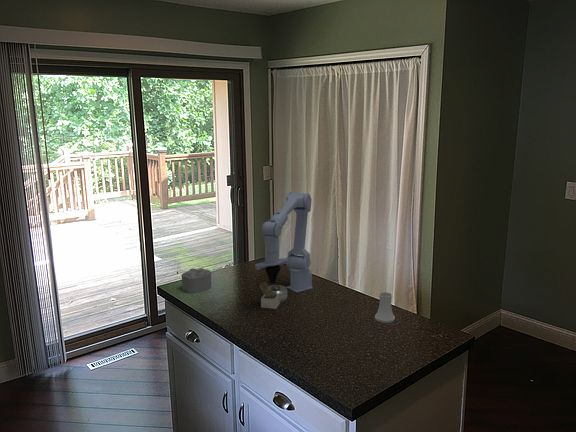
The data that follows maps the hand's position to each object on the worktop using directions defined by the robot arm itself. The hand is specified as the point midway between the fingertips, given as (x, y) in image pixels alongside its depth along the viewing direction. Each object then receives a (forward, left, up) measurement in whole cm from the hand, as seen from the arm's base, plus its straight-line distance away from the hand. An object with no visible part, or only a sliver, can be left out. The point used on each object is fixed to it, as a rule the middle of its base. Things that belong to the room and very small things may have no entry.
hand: (272, 283), depth 194 cm
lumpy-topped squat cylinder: (+16, -38, -11) cm, 43 cm away
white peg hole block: (-3, -4, -10) cm, 12 cm away
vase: (-29, +35, -11) cm, 47 cm away
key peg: (0, -1, -8) cm, 8 cm away
